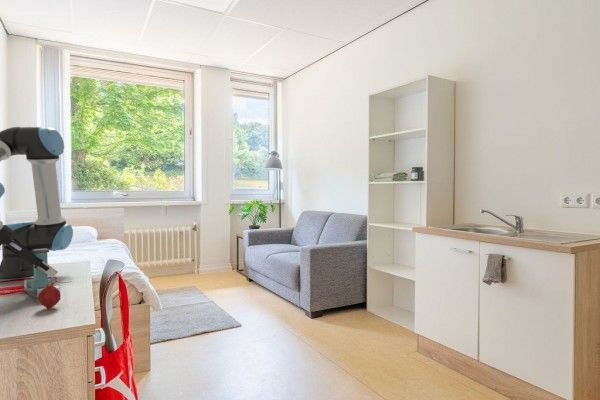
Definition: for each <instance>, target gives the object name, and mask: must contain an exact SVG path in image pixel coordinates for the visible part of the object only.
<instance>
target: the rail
mask: <svg viewBox="0 0 600 400" xmlns="http://www.w3.org/2000/svg"><path fill="white" fill-rule="evenodd" d="M31 280H34V277H32V278H29V279H24V280H23V281H24V285H23V286H24V292H26V293H27V294H28V295H30V297H31V298H33V299H34V300H35V301H37V302H38V303H39V301H38V296H39V293H40V292H41V291H42V289H44V288H45V287H41V288H35V289H33V288H32V287H31ZM53 286H54V287H56V288H57V289H58V290H59V291H60V292H61V286H59V285H53Z"/></svg>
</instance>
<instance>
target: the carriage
mask: <svg viewBox="0 0 600 400" xmlns="http://www.w3.org/2000/svg"><path fill="white" fill-rule="evenodd" d="M32 253H34V255H36V256H37V257H38V258H40V259H42V260H43V261H44V262H45V263H47V264H48V253H50V251H49V249H46V248H44V249H33V250H32ZM48 265H49V264H48ZM34 267H35V265H34ZM33 278H34V280H31V287H32V288H33V289H35V288H41V287H47V284H49V283H50V284H51V285H52V279H51V278H49V276H48V275H47V274H46V273H44V272H43V271H41V270H40V269H39V268H36V269H35V268H34V275H33Z"/></svg>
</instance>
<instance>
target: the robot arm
mask: <svg viewBox="0 0 600 400" xmlns="http://www.w3.org/2000/svg"><path fill="white" fill-rule="evenodd" d="M64 149H65V143H64V140H63V137H62V135H61V133H60V132H59V131H58V130H57V129H55V128H53V127H46V126H45V127H44V126H39V127H38V126H32V127H31V126H25V127H24V126H14V127H9V128H4V129H2V130H0V163H1V162H2V161H6V160H8V159H10V158H11V157H12V156H13V157H14V156H19V155H22V156H24V155H25V157H26V161H28V162H29V163H30V164H31V170H32V180H33V188H34V197H35V204H36V213H37V219H36V220H35V221H34V220H33V221H26V222H24V221H23V222H18V223H17V222H16V223H10V224H4V222H3V221H2V220H0V247H1V246H2V247H1V248H2V258H1V262H0V279H16V278H25V277H31V276H32V277H33V276H34V268H35V269H36V268H39V269H40V270H41V271H43V272H44V273H46V274H47V275H48V277H50V278H52V279H53V278H54V277H55V276H56V275H57V274H58V273H59V271H58V270H56V268H54V267H52V266H51V265H50V264H47V263H48V262H47V263H45V262H44V261H43V260H42V259H40V258H38V257H37V256H36V255H34V253H32V250H33V249H44V248H46V249H49V252H50V251H51V252H52V251H53V252H56V251H64V250H67V248H68V247H69V246H70V244H71V242H72V240H73V236H74V228H73V227H72V225H71V224H69V223H67V220H66V218H65V217H63V216H62V209H61V202H60V201H61V200H60V191H59V184H58V183H59V181H58V174H57V165H56V164H57V162H58V161H59V160H60V156H61V155H62V154H63V153H64ZM5 189H6V188H5V187H4V185H3V184H2V182H0V199H1V198H2V196H3V195H5V193H6V190H5ZM34 265H35V267H34Z"/></svg>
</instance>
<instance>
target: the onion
mask: <svg viewBox="0 0 600 400" xmlns="http://www.w3.org/2000/svg"><path fill="white" fill-rule="evenodd" d="M54 286H55V285H52V283H51V284H50V283H49V284H47V287H45V288H44V289H42V291H41V292H40V293H39V296H38V301H39V302H38V301H37V302H38V303H39V304H40V305H41V306H43V307H45V308H46V309H48V310H50V309H53V308H54V307H55V306H56V305H57V304H58V303H59V301H60V300H61V297H62V296H61V290H60V291H59V290H58V289H57V288H56V287H54Z"/></svg>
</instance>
